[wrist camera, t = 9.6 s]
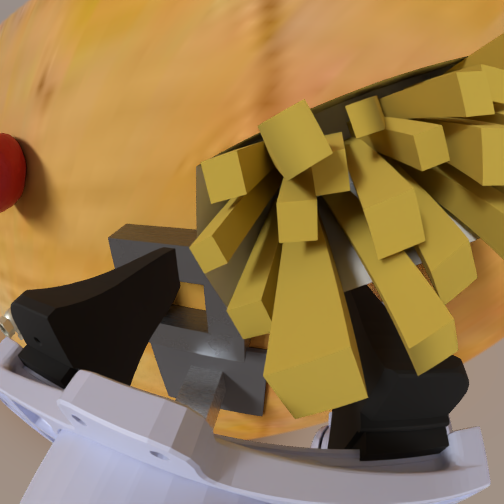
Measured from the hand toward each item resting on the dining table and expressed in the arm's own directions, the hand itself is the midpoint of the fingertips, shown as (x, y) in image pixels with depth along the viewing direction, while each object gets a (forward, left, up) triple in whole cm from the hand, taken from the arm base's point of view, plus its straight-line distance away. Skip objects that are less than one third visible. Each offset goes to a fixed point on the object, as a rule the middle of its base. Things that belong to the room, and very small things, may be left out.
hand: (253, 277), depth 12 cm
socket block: (+8, +9, -10) cm, 16 cm away
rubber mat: (+7, +23, -10) cm, 26 cm away
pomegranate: (+32, -4, -11) cm, 34 cm away
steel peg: (+7, +23, -10) cm, 26 cm away
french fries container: (-4, -6, -11) cm, 13 cm away
